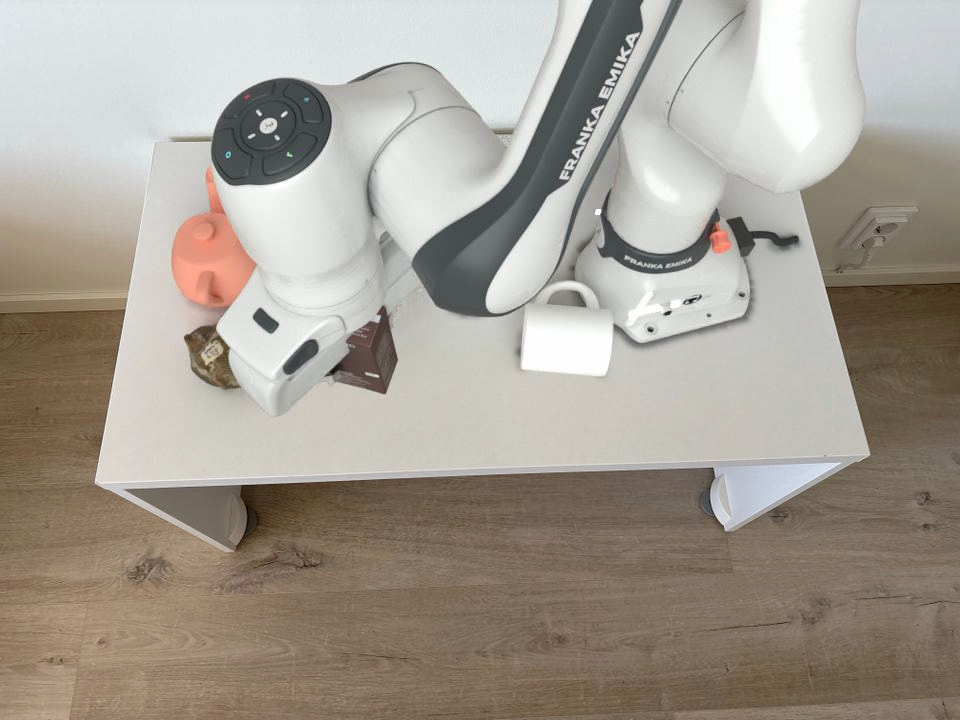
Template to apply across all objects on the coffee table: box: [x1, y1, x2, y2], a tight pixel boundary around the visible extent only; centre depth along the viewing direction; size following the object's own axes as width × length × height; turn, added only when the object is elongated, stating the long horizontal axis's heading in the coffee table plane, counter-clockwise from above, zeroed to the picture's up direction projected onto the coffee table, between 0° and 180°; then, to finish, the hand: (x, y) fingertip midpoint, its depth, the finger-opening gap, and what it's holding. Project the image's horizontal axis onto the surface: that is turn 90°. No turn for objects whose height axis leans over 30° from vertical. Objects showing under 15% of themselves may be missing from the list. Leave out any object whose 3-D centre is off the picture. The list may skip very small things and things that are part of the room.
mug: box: [519, 280, 614, 377], centre depth 79 cm, size 12×10×8 cm
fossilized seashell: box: [183, 324, 242, 391], centre depth 79 cm, size 8×7×10 cm
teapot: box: [170, 166, 257, 308], centre depth 82 cm, size 12×18×10 cm
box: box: [336, 306, 399, 395], centre depth 62 cm, size 6×4×12 cm
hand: (356, 352), depth 63 cm, fingers closed on box, 5 cm apart
